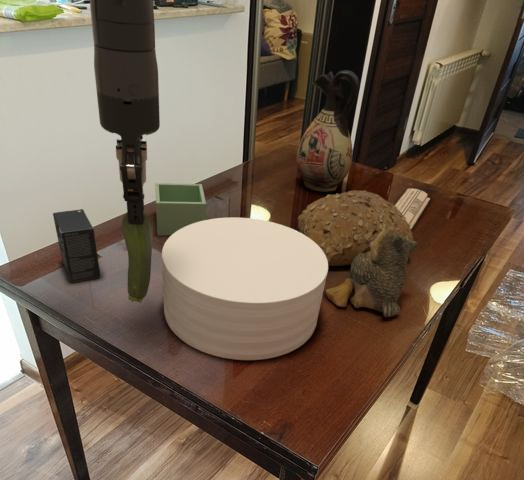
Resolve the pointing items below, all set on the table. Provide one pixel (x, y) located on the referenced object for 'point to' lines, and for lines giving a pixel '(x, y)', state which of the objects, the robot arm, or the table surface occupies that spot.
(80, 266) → the box
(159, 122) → the robot arm
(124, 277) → the table surface
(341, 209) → the bread
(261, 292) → the plate stack
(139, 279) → the vegetable
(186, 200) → the bin
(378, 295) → the figurine
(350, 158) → the ceramic jug
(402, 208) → the newspaper
